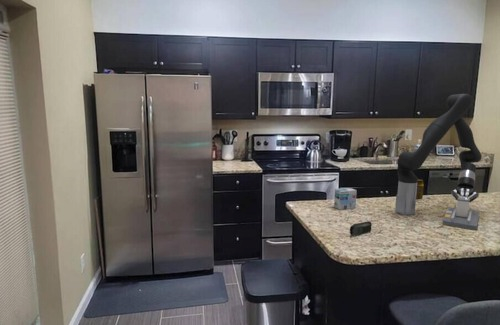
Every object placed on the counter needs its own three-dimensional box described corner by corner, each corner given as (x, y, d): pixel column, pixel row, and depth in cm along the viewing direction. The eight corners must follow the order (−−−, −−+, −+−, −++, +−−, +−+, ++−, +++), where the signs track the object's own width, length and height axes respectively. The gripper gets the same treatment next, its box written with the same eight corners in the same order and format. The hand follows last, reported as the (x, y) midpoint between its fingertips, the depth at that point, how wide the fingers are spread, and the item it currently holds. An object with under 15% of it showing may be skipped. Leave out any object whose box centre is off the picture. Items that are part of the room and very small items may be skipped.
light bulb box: (339, 210, 193) (340, 191, 191) (333, 206, 199) (334, 188, 197) (356, 208, 195) (357, 190, 194) (349, 205, 202) (350, 187, 200)
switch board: (448, 210, 192) (448, 204, 191) (478, 215, 184) (479, 208, 183) (442, 224, 169) (442, 217, 168) (476, 230, 161) (477, 223, 160)
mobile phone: (367, 219, 162) (347, 225, 153) (373, 221, 159) (352, 227, 150) (366, 230, 162) (346, 236, 153) (372, 231, 160) (352, 238, 151)
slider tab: (456, 213, 179) (458, 197, 177) (468, 215, 176) (469, 198, 175) (455, 215, 175) (457, 198, 174) (467, 217, 172) (469, 200, 171)
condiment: (424, 198, 218) (426, 179, 216) (419, 200, 212) (421, 181, 210) (413, 196, 223) (414, 178, 221) (407, 198, 217) (409, 180, 216)
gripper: (452, 174, 186) (447, 201, 178) (481, 177, 179) (478, 206, 171) (452, 182, 192) (448, 209, 184) (480, 185, 184) (477, 213, 176)
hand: (462, 207), depth 177 cm, fingers closed
